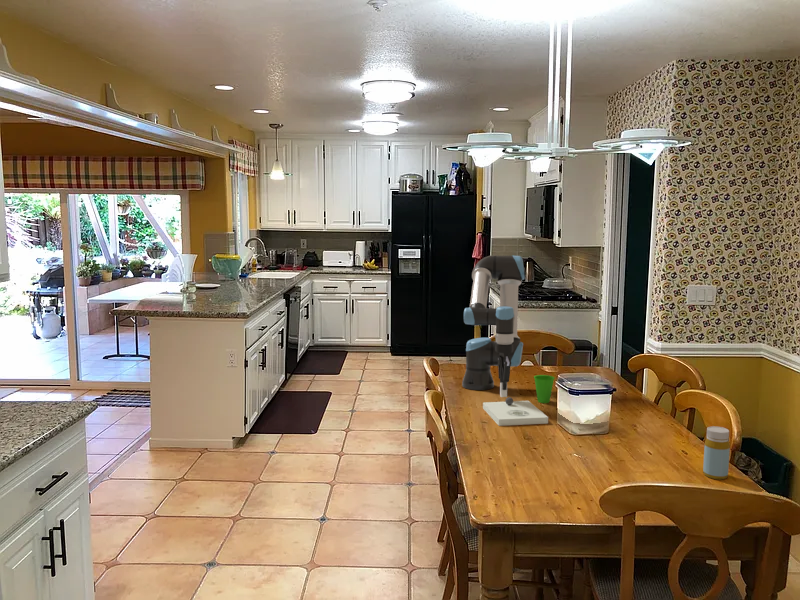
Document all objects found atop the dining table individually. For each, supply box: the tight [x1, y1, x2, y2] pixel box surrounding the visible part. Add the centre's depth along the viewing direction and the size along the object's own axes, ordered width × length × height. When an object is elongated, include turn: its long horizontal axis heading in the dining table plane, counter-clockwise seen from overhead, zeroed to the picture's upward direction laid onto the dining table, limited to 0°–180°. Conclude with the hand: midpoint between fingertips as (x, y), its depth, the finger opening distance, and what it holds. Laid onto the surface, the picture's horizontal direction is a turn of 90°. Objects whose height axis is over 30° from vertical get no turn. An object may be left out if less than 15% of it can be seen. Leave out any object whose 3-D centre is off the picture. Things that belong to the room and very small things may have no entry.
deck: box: [482, 400, 549, 427], centre depth 266 cm, size 24×20×2 cm
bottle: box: [702, 425, 731, 481], centre depth 202 cm, size 7×7×15 cm
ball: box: [505, 396, 514, 405], centre depth 273 cm, size 3×3×3 cm
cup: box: [533, 374, 556, 404], centre depth 286 cm, size 9×9×11 cm
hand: (503, 396), depth 281 cm, fingers closed
